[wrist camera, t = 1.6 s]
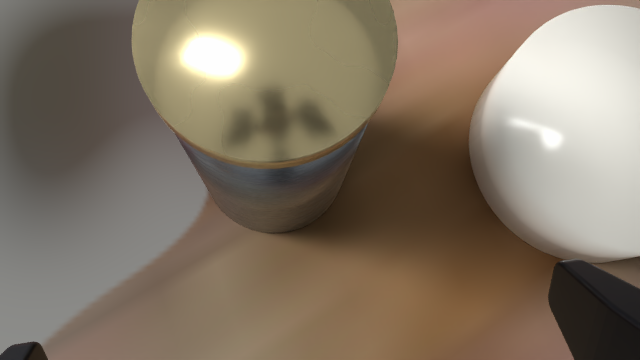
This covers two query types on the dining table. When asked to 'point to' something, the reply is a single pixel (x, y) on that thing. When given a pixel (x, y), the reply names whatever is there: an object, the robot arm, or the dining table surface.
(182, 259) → the dining table surface
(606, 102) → the ceramic trivet
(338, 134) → the grey tin
